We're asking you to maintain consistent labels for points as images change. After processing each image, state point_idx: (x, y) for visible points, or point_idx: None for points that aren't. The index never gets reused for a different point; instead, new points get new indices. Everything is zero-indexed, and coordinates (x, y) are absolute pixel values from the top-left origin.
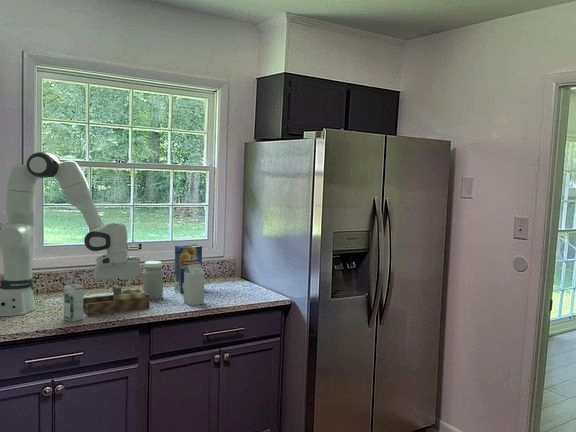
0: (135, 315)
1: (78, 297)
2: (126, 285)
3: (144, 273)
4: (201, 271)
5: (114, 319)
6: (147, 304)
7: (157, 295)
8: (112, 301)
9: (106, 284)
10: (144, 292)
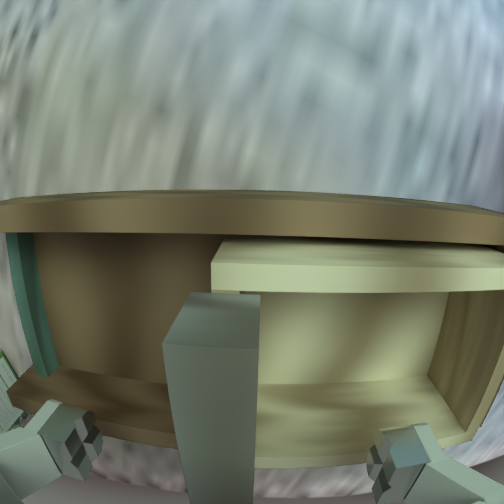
0: (292, 475)
1: None
2: (378, 452)
3: None
4: None
5: (173, 479)
6: None
7: None
8: (163, 445)
9: (46, 481)
10: (470, 437)
